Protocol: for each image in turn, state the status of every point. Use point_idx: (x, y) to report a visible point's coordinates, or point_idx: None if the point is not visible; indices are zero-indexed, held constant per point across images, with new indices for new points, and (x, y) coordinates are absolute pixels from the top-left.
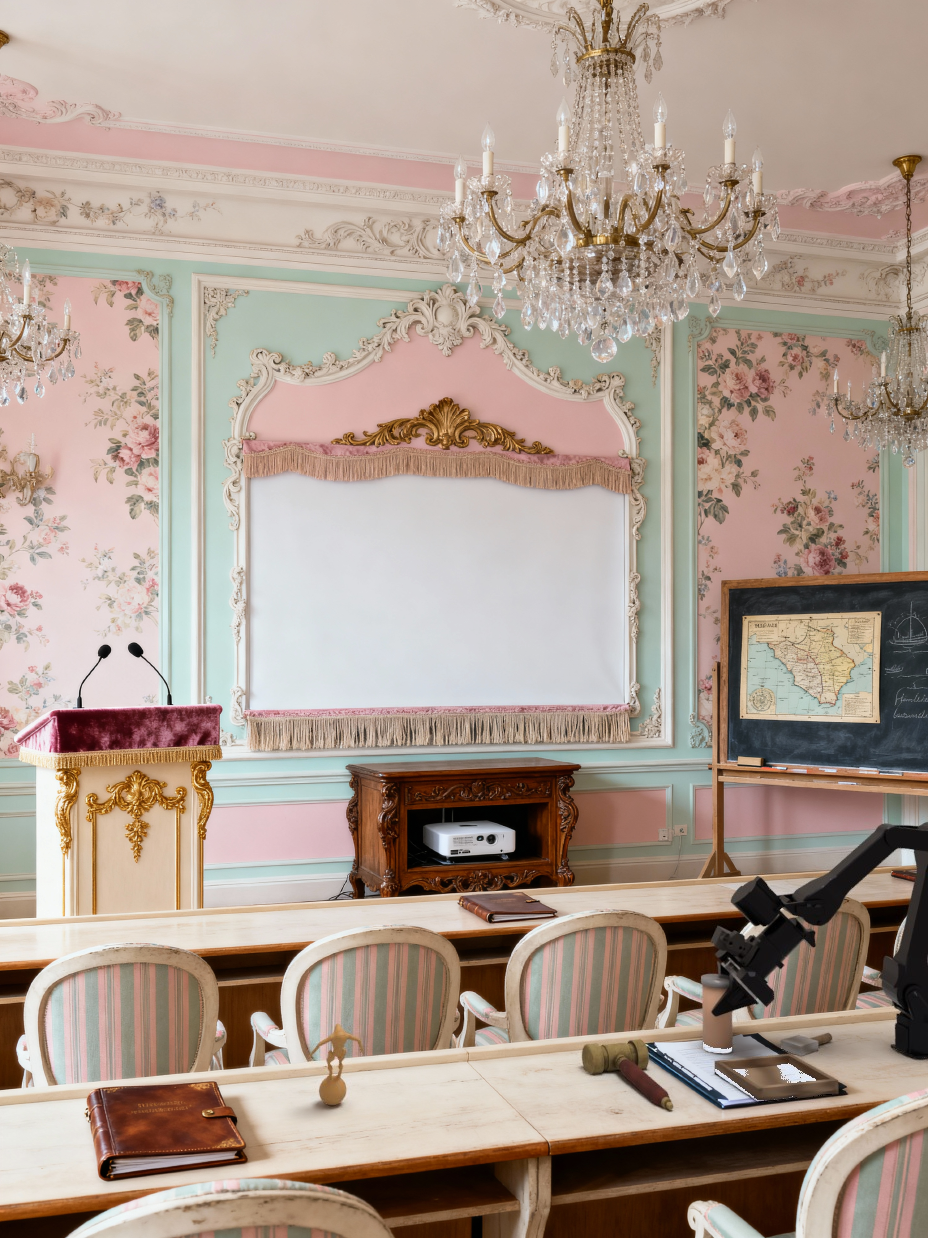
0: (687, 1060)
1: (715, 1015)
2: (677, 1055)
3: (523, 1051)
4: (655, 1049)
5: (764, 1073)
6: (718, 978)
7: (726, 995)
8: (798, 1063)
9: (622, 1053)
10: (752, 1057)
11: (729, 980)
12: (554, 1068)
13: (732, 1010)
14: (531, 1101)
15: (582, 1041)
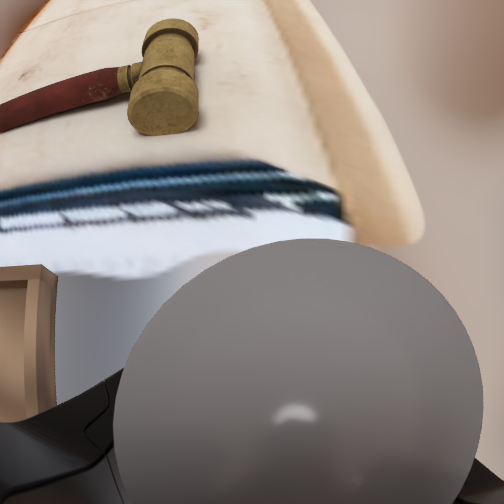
0: (173, 251)
1: None
2: (222, 241)
3: (292, 24)
4: (284, 202)
5: (3, 393)
6: (297, 444)
7: (77, 396)
8: None
9: (141, 66)
10: (34, 399)
11: (50, 473)
12: (205, 31)
13: None
14: (105, 14)
15: (348, 92)
